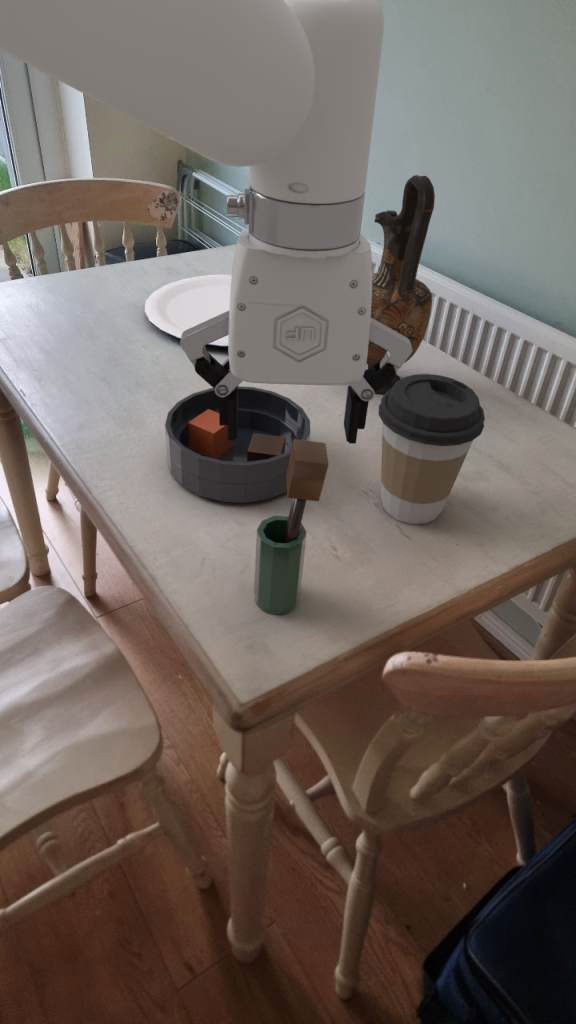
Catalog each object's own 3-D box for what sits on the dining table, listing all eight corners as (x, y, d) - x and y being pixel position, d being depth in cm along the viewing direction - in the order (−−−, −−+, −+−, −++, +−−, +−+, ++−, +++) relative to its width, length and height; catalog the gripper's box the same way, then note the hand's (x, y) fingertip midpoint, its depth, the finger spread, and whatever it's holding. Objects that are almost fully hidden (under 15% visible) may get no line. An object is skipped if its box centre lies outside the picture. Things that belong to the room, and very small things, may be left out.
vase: (400, 362, 110) (437, 156, 91) (429, 403, 101) (477, 182, 82) (329, 366, 108) (352, 155, 89) (352, 408, 99) (383, 182, 79)
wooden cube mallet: (263, 604, 68) (295, 460, 57) (263, 581, 70) (293, 438, 59) (291, 607, 68) (328, 464, 57) (290, 583, 71) (325, 442, 60)
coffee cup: (478, 513, 82) (512, 403, 72) (412, 551, 76) (440, 436, 67) (409, 466, 88) (431, 359, 79) (343, 497, 83) (359, 386, 73)
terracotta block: (189, 449, 87) (188, 422, 85) (208, 435, 90) (208, 408, 87) (214, 460, 86) (213, 433, 83) (233, 446, 88) (233, 419, 86)
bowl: (143, 485, 82) (139, 443, 78) (202, 414, 95) (201, 375, 91) (281, 521, 79) (284, 479, 75) (322, 442, 91) (326, 403, 88)
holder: (248, 608, 68) (250, 540, 62) (263, 577, 72) (267, 510, 66) (290, 620, 67) (296, 553, 62) (304, 588, 71) (311, 521, 65)
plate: (184, 368, 104) (183, 358, 103) (121, 295, 124) (120, 286, 122) (346, 336, 116) (347, 326, 115) (266, 274, 135) (266, 265, 134)
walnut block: (246, 478, 83) (247, 451, 81) (252, 459, 86) (253, 432, 84) (279, 482, 83) (280, 455, 81) (284, 463, 86) (285, 436, 84)
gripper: (168, 230, 43) (181, 457, 54) (445, 242, 44) (402, 462, 55) (179, 194, 48) (189, 406, 59) (423, 205, 49) (388, 411, 60)
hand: (291, 432), depth 57 cm, fingers open, 9 cm apart
